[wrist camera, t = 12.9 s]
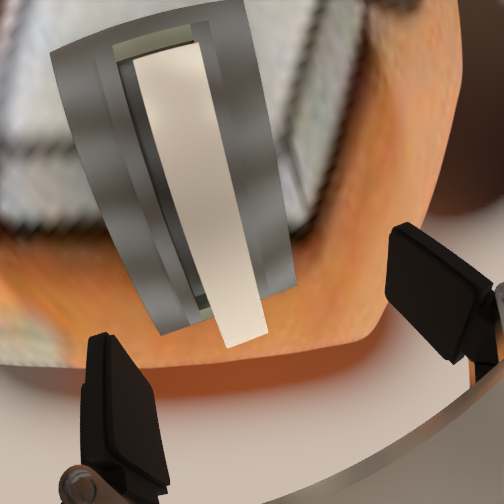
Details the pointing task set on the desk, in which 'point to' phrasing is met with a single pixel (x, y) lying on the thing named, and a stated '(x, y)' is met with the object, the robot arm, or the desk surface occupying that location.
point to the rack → (148, 160)
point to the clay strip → (202, 186)
